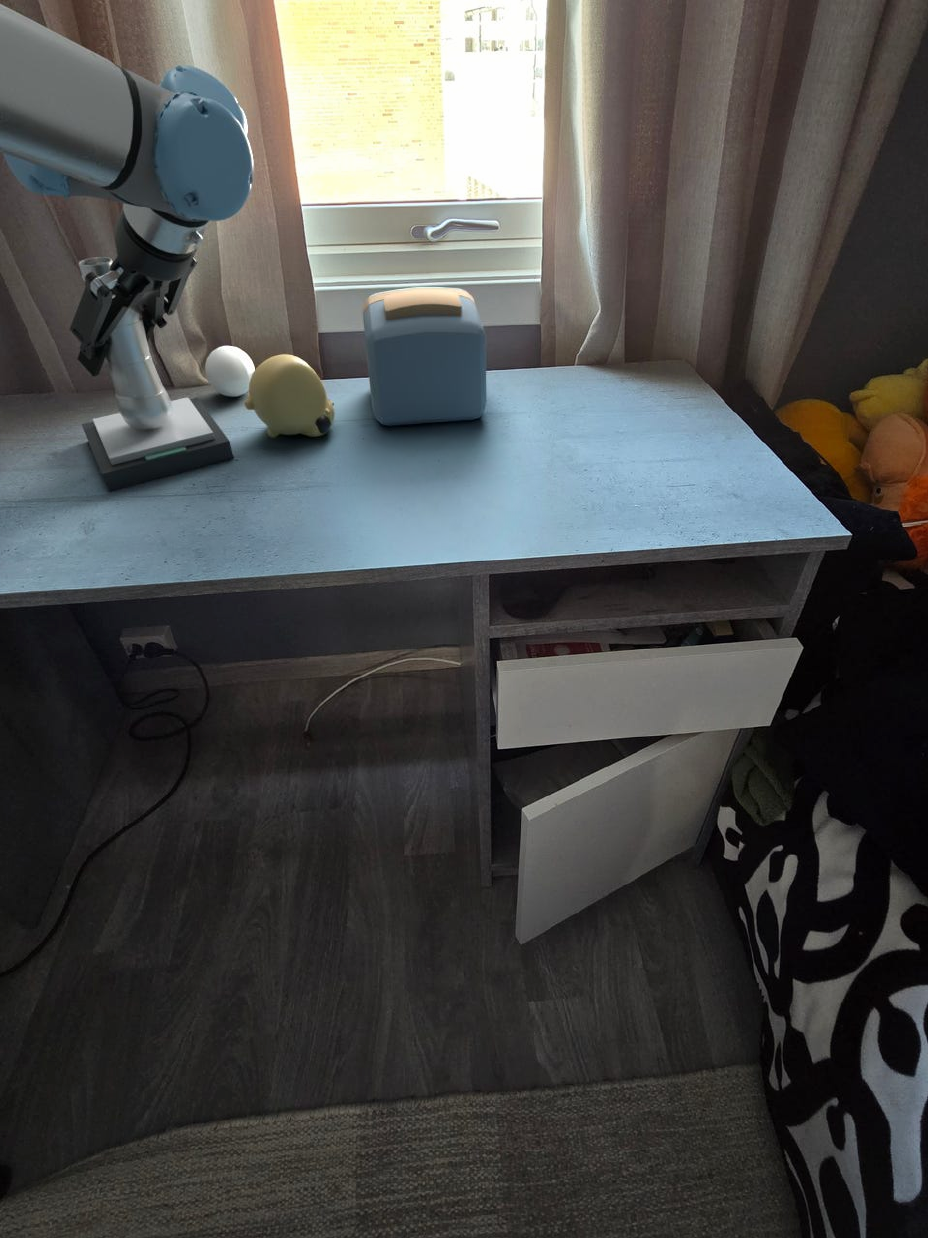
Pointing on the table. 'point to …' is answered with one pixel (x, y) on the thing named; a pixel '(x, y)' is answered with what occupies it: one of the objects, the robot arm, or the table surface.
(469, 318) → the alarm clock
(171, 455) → the scale
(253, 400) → the yellow round figure
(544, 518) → the table surface
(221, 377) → the white egg
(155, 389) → the plastic bottle
